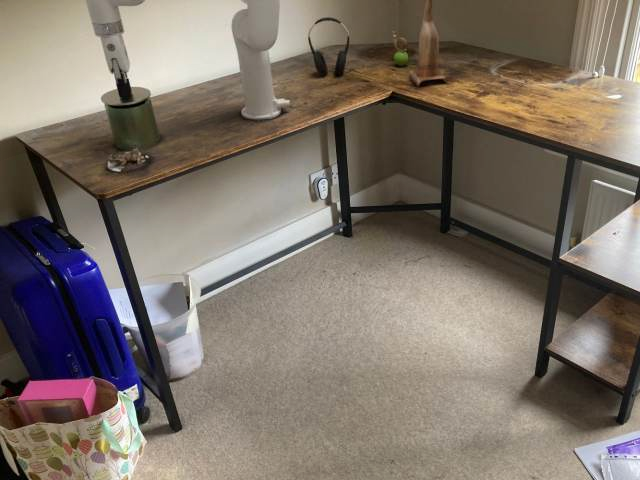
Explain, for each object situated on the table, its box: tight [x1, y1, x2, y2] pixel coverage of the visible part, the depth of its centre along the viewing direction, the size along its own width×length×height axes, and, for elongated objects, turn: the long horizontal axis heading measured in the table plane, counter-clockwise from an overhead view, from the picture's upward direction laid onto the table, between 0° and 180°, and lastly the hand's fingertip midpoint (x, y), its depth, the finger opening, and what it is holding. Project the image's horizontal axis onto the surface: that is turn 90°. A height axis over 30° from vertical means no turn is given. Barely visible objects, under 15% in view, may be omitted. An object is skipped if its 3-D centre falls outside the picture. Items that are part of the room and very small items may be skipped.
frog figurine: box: [107, 148, 149, 173], centre depth 181 cm, size 12×12×4 cm
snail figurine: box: [391, 30, 409, 67], centre depth 242 cm, size 5×6×12 cm
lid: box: [100, 80, 152, 106], centre depth 184 cm, size 14×14×6 cm
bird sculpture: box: [408, 0, 449, 87], centre depth 222 cm, size 11×12×32 cm
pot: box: [103, 96, 161, 151], centre depth 190 cm, size 13×13×12 cm
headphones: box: [307, 16, 350, 76], centre depth 232 cm, size 9×15×20 cm, turn 91°
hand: (125, 94), depth 185 cm, fingers closed on lid, 2 cm apart
